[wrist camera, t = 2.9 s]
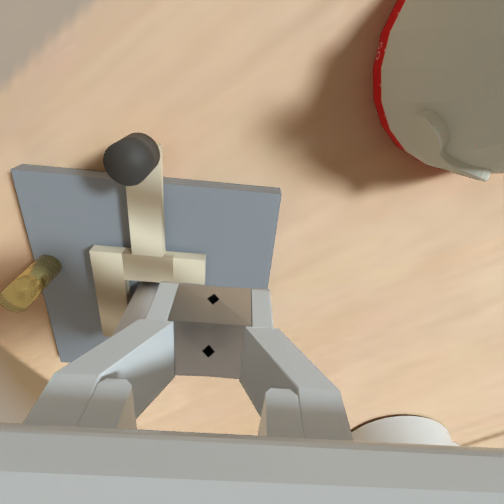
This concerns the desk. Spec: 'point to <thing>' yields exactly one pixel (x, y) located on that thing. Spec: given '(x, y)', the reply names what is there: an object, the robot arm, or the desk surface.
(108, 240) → the board
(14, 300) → the gold rounded cylinder
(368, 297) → the desk surface
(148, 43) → the desk surface
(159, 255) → the knobbed lever handle
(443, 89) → the kitchen timer
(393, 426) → the robot arm
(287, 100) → the desk surface
